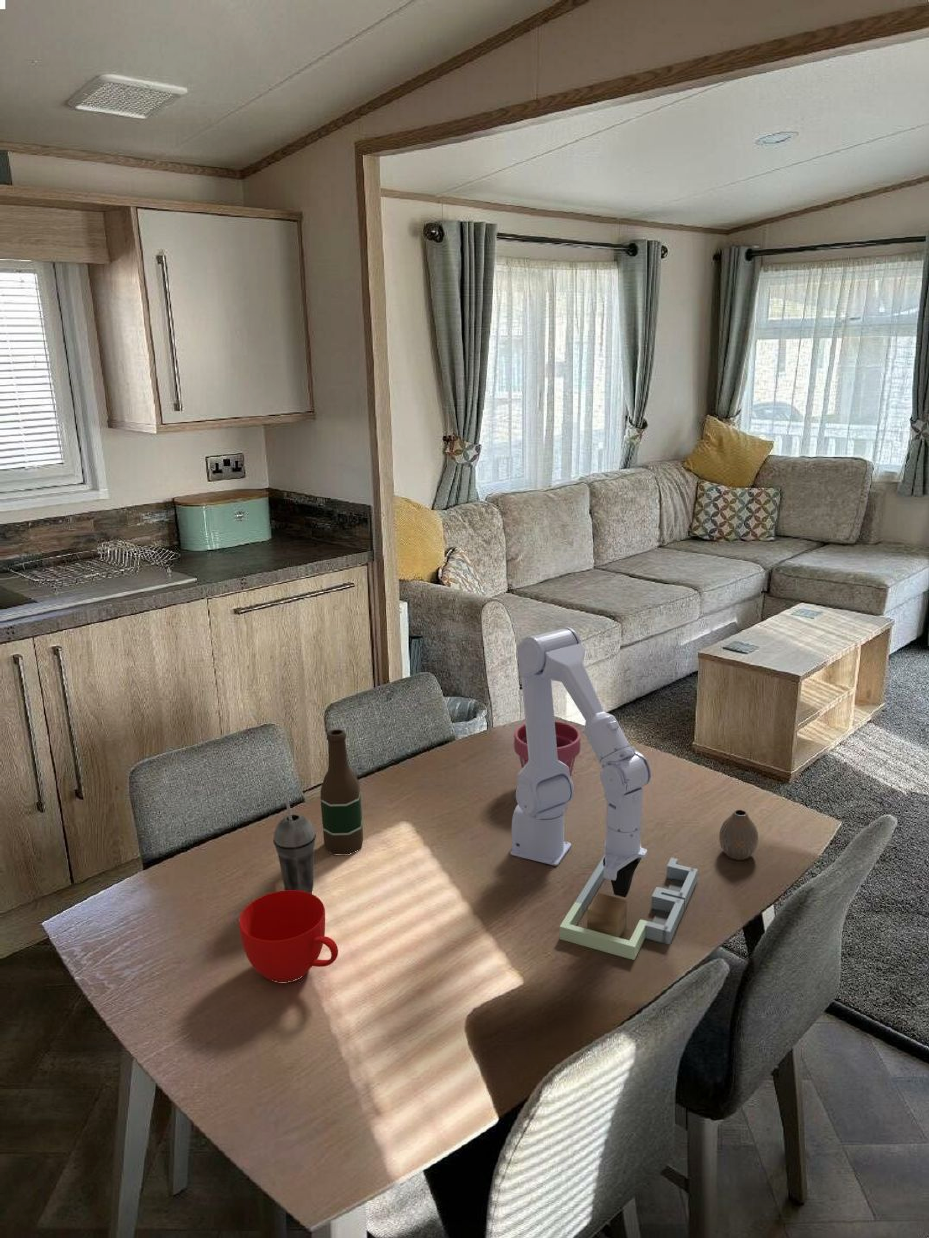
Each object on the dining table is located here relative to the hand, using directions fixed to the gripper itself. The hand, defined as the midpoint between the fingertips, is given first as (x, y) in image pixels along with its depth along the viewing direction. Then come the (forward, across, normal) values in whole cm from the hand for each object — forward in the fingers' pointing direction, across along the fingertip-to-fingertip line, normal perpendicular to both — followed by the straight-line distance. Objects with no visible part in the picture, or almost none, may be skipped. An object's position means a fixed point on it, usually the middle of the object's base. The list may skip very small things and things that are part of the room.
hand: (621, 894), depth 154 cm
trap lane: (+2, 0, -2) cm, 3 cm away
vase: (+2, +24, -15) cm, 28 cm away
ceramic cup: (+2, -38, +40) cm, 55 cm away
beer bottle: (+2, -4, +54) cm, 54 cm away
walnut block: (+2, -8, 0) cm, 8 cm away
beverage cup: (+2, -21, +52) cm, 56 cm away
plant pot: (+2, +34, +27) cm, 43 cm away
